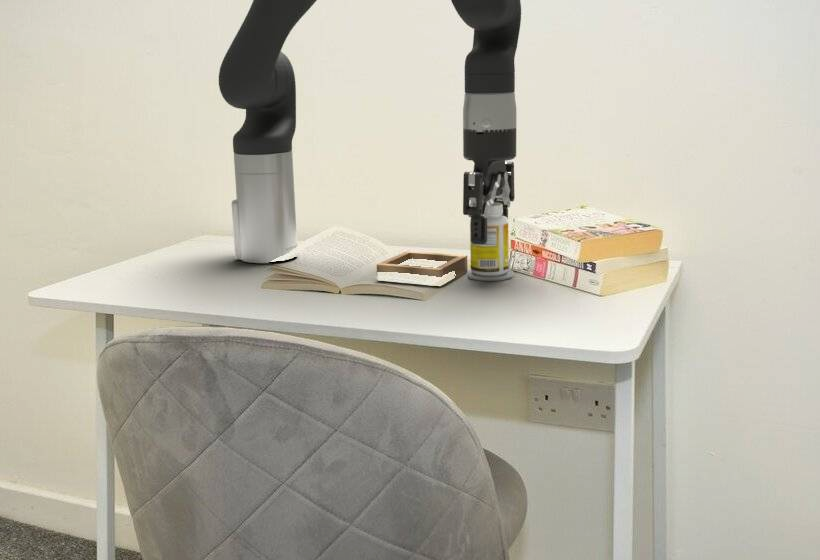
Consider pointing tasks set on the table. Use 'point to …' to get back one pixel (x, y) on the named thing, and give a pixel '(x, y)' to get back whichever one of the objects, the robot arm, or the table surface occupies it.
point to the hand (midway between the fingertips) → (489, 238)
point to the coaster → (490, 278)
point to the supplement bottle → (492, 245)
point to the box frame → (453, 264)
